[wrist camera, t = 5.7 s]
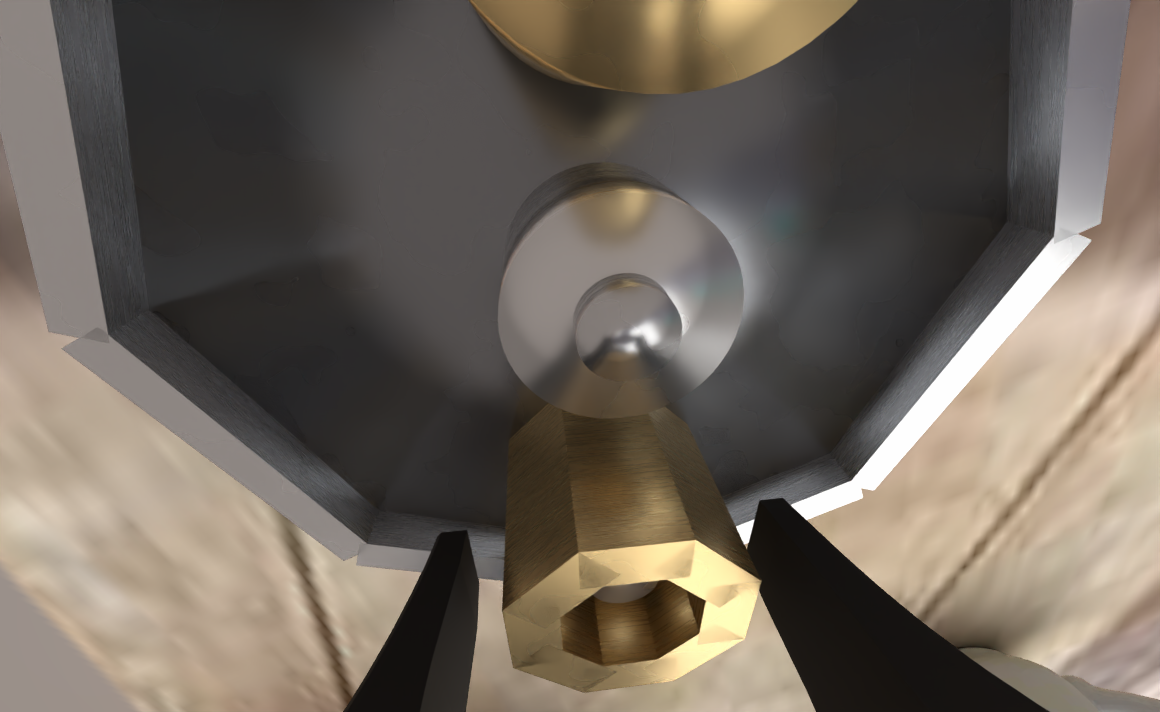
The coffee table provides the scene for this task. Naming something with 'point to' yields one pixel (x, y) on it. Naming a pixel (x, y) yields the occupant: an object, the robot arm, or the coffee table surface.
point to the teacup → (1057, 686)
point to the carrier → (548, 229)
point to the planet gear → (618, 552)
